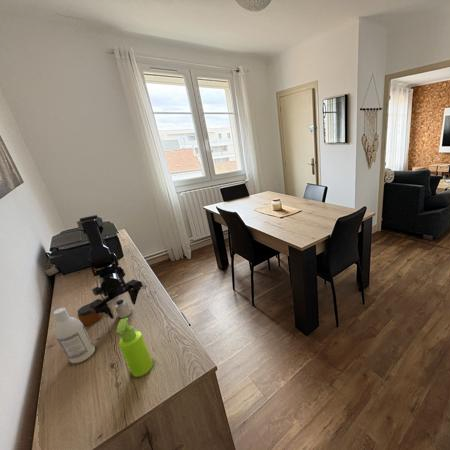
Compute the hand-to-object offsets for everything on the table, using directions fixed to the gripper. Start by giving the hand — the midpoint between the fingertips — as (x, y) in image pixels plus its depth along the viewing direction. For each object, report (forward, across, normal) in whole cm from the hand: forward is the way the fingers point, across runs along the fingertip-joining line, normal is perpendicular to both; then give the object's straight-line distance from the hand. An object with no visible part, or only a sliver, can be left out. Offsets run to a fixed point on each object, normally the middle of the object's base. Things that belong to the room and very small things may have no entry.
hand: (123, 311), depth 103 cm
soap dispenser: (+2, +15, +33) cm, 36 cm away
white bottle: (+2, 0, 0) cm, 2 cm away
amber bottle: (+2, +7, -11) cm, 13 cm away
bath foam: (+2, +19, +7) cm, 20 cm away
